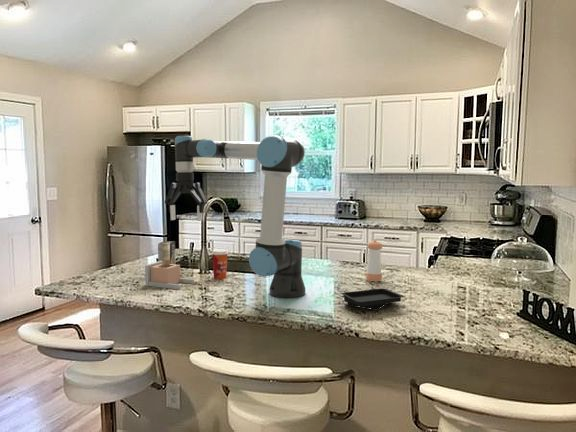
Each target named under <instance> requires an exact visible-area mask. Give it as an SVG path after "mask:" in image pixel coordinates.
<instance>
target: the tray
mask: <svg viewBox="0 0 576 432" xmlns="http://www.w3.org/2000/svg"><path fill="white" fill-rule="evenodd" d="M340 295H341V298H343V301H344V302H345V303H346V304H348V305H347V306H349V305H353V306H352V307H355V306H360V307H365V308H364V309H366V308H371V309H370V310H372V309H379V308H380V307H382V306H383V305H385V304H386V303H388V304H390V303H399V302H401V301H402V298H404V297H405V296H404V295H402V294H399V293H397V292H395V291H393V290H390V289H387V288H371V289H365V290H355V291H347V292H345V291H344V292H341V293H340ZM386 305H387V304H386ZM386 305H385V306H386ZM360 307H359V308H360ZM383 307H384V306H383ZM383 307H382V308H383ZM380 309H381V308H380ZM380 309H379V310H380Z"/></svg>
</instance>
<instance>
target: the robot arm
mask: <svg viewBox="0 0 576 432" xmlns="http://www.w3.org/2000/svg"><path fill="white" fill-rule="evenodd" d="M174 150H175V151H174V154H175V171H176V173H175V177H176V178H175V181H176V182H170V184H169V190H168V192H167V196H166V197H165V200H164V204H166V205H168V212H169V213H170V221H175V220H176V204H175V203H176V201H177V200H178V198H179V197H180V196H181V194H190V196H191V197H192V198H193V199H194V201H195V202H196V204H197V205H196V206H197V207H196V211H197V212H196V213H197V214H196V217H197V221H203V213H204V210H205V209H204V205H206V204H208V200H207V198H206V195H205V194H204V192H203V189H202V187H201V182H195V183H194V179H195V177H194V175H195V174H194V172H193V171H194V158H209V159H210V158H211V159H234V160H251V161H252V160H253V161H258V162H259V164H260V165H261V169H260V170H261V172H262V173H263V174H264V180H263V182H264V184H263V194H262V195H263V196H262V208H261V218H260V219H261V222H260V232H259V233H260V234H259V236H258V237H257V238H256V240H255V246H254V248H253V249H252V250H251V251H250V253H249V255H248V263H249V266H250V268H251V270H252V271H253V272H254V273H255V274H256V275H258V276H259V277H264V278H265V277H271V276H272V280H271V283H270V286H269V295H271V296H273V297H276V298H283V299H284V298H286V299H290V298H291V299H292V298H299V297H303V296H305V295H306V286H305V283H304V280H303V276H302V275H303V274H302V265H303V263H302V260H303V259H302V257H303V248H302V246H303V245H302V242H301V241H300V240H298V239H293V238H283V232H284V231H283V229H284V219H285V218H284V217H285V205H286V195H287V194H286V193H287V183H288V181H287V180H288V176H290V175H291V174H292V172H293V171H292V168H294V167H296V166H298V165H299V164H300V163H302V161H303V160H304V158H305V153H306V152H305V147H304V145H303V143H302V142H301V141H300V140H299V139H297V138H296V137H291V136H283V135H282V136H281V135H268V136H266V137H264V138H263V139H262V140H261V141H235V140H234V141H231V140H230V141H225V140H213V139H209V138H202V139H193V136H191V135H177V136H176V137H175V139H174ZM194 188H195V189H194Z"/></svg>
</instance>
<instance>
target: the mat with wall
mask: <svg viewBox="0 0 576 432" xmlns="http://www.w3.org/2000/svg"><path fill="white" fill-rule="evenodd" d="M159 264H162V261H158V260H157V261H155V262H152V263H149V264H144V265H145V266H144V272H145V273H144V277H145V278H144V279H145V281H144V282H145V286H148V287H156V288H157V287H158V288H164V289H165V288H166V289H172V290H173V289H175V290H181V284H168V283H160V282H151V267H153V266H156V265H159ZM180 283H185V284H192V285H194V284H195V279H192V278H183V277H180Z"/></svg>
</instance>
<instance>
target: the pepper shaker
mask: <svg viewBox="0 0 576 432" xmlns="http://www.w3.org/2000/svg"><path fill="white" fill-rule="evenodd" d="M367 249H368V258H367V259H368V260H367V265H366V266H367V267H366V270H367V271H366V273H365V274H366V275H365V281H367V280H368V281H367V282H370V281H381V280H382V281H383V273H382V261H381V254H382V253H381V251H382V249H383V244H382V242H379V241H377V240H376V239H374V240H373V241H370V242H368V243H367ZM382 281H381V282H382Z"/></svg>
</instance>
